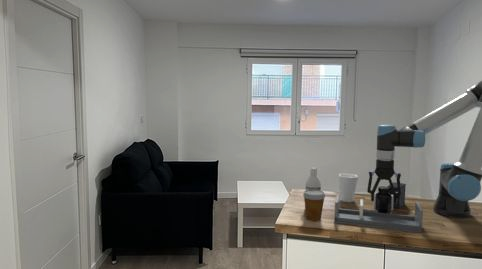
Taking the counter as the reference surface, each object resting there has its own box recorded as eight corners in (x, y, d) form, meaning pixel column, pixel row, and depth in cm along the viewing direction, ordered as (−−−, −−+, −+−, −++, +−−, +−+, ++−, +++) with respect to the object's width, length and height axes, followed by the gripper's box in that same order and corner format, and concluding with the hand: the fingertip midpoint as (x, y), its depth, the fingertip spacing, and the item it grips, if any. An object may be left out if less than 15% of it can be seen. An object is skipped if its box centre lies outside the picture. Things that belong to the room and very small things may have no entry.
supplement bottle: (392, 216, 167) (393, 189, 165) (376, 215, 168) (377, 189, 167) (389, 211, 173) (390, 185, 172) (373, 210, 175) (374, 185, 173)
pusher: (376, 215, 165) (377, 200, 164) (377, 223, 156) (378, 207, 155) (359, 213, 167) (360, 199, 166) (359, 221, 158) (360, 205, 157)
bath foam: (318, 212, 172) (319, 170, 170) (303, 210, 175) (304, 168, 172) (321, 208, 178) (322, 167, 176) (306, 206, 181) (308, 165, 179)
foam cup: (344, 196, 198) (345, 172, 197) (360, 200, 191) (361, 175, 190) (333, 199, 192) (334, 175, 191) (349, 204, 185) (350, 178, 184)
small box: (391, 201, 190) (392, 181, 189) (405, 204, 186) (406, 183, 185) (385, 206, 182) (386, 185, 180) (399, 209, 178) (400, 188, 177)
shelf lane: (416, 221, 162) (418, 201, 161) (421, 232, 149) (423, 211, 148) (336, 212, 172) (337, 194, 171) (334, 222, 159) (335, 202, 158)
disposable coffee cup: (328, 219, 163) (329, 192, 162) (315, 224, 157) (316, 196, 156) (311, 213, 170) (311, 188, 169) (297, 218, 164) (298, 192, 162)
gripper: (408, 158, 168) (405, 208, 171) (362, 156, 174) (360, 204, 177) (410, 161, 161) (407, 213, 164) (362, 159, 167) (360, 209, 170)
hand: (383, 208), depth 171 cm, fingers closed on supplement bottle, 7 cm apart
